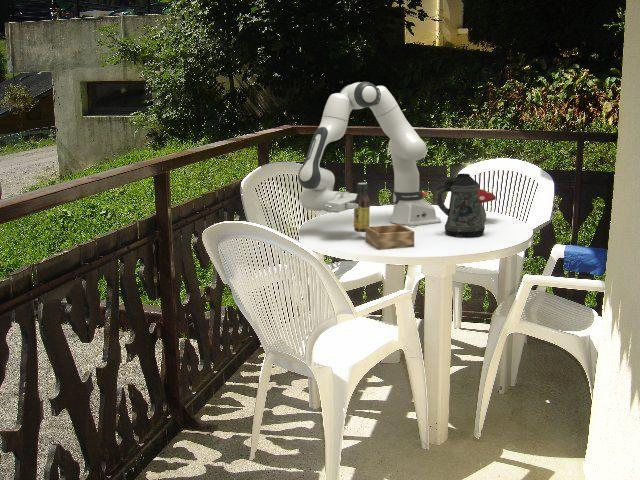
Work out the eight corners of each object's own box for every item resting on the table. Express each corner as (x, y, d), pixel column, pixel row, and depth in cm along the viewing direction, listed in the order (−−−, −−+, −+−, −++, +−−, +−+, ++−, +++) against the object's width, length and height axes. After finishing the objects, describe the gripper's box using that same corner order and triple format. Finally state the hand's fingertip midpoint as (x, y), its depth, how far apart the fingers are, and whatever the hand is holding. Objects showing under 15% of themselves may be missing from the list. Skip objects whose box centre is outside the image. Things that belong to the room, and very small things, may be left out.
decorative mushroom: (467, 226, 340) (468, 192, 336) (453, 219, 355) (454, 186, 351) (501, 223, 343) (502, 190, 340) (486, 217, 358) (487, 185, 355)
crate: (400, 238, 317) (400, 224, 316) (414, 246, 303) (414, 231, 301) (365, 241, 313) (365, 226, 312) (377, 249, 299) (377, 234, 298)
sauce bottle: (353, 230, 321) (353, 182, 317) (368, 229, 322) (368, 182, 318) (355, 233, 315) (355, 184, 311) (370, 232, 315) (370, 183, 311)
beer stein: (492, 235, 321) (494, 175, 315) (454, 240, 312) (455, 178, 307) (468, 228, 335) (469, 170, 330) (430, 233, 327) (431, 174, 321)
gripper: (320, 198, 314) (349, 201, 306) (347, 190, 330) (375, 192, 323) (321, 213, 315) (350, 216, 308) (347, 205, 332) (376, 207, 324)
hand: (363, 204), depth 315 cm, fingers closed on sauce bottle, 6 cm apart
